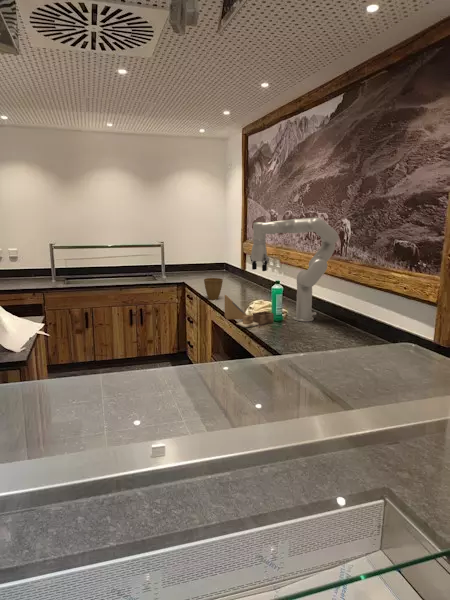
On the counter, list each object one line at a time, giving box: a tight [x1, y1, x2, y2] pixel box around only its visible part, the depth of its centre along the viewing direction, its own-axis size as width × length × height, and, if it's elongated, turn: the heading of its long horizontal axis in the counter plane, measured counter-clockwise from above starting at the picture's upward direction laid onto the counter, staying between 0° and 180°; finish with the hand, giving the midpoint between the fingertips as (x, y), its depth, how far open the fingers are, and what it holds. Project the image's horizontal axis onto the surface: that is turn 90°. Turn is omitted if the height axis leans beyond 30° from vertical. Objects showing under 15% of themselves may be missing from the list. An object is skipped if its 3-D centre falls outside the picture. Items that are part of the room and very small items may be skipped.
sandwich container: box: [224, 294, 247, 320], centre depth 273 cm, size 9×15×15 cm, turn 101°
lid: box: [235, 314, 260, 328], centre depth 253 cm, size 11×9×6 cm
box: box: [252, 310, 274, 326], centre depth 259 cm, size 10×8×6 cm
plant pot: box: [203, 277, 224, 301], centre depth 332 cm, size 15×15×16 cm
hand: (259, 270), depth 261 cm, fingers open, 9 cm apart
